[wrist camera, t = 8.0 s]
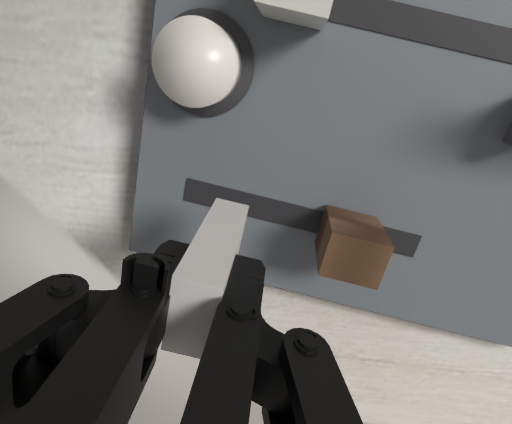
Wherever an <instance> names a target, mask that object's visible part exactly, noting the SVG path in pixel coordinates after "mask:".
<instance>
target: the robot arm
mask: <svg viewBox="0 0 512 424" xmlns="http://www.w3.org/2000/svg"><path fill="white" fill-rule="evenodd" d="M248 209H249V205H245V204H240V203H236V202H232V201H228V200H224V199H219V198H216V200H215V201H214V203H213V205H212V207H211V208H210V210H209V212H208V214H207V215H206V217H205V219H204V221H203V222H202V224H201V226H200V228H199V229H198V231H197V233H196V235H195V237H194V238H193V240H192V242H191V244H187V243H183V242H179V241H174V240H168V241H166V242H164V243H162V244H160V245H159V247H158V248H157V249H156V251H155V253H154V254H151V253H136V254H132V255H129V256H127V257H126V258H125V259H123V264H122V276H121V284H120V286H119V287H118V288H117V289H116V290H103V291H101V290H89V285H88V283H87V281H86V280H85V279H83V278H82V277H80V276H77V275H73V274H59V275H53V276H50V277H47V278H45V279H43V280H41V281H39V282H37V283H35V284H33V285H32V286H30V287H28V288H26V289H24V290H23V291H21V292H19V293H17V294H16V295H14V296H12V297H10V298H9V299H7V300H5V301H3V302H1V303H0V424H128V421H129V419H130V417H131V415H132V412H133V410H134V408H135V406H136V404H137V402H138V400H139V397H140V395H141V393H142V391H143V389H144V386H145V384H146V382H147V380H148V377H149V375H150V373H151V371H152V369H153V367H154V364H155V361H156V355H157V349H158V347H159V345H160V343H161V341H162V346H161V349H162V350H165V351H170V352H174V353H178V354H182V355H186V356H191V357H195V358H199V359H200V363H199V366H198V369H197V372H196V375H195V379H194V382H193V385H192V388H191V391H190V395H189V398H188V401H187V404H186V407H185V411H184V414H183V417H182V420H181V423H180V424H248V423H249V415H250V407H251V400H252V401H253V402H255V403H257V404H259V405H260V406H262V415H263V421H264V424H363V422H362V420H361V418H360V415H359V413H358V411H357V408H356V406H355V404H354V402H353V399H352V397H351V395H350V392H349V390H348V388H347V385H346V383H345V381H344V378H343V376H342V374H341V372H340V369H339V367H338V365H337V362H336V360H335V358H334V355H333V353H332V351H331V348H330V346H329V345H328V343H327V342H326V340H325V339H324V338H323V337H321V336H320V335H319V334H317V333H315V332H313V331H311V330H309V329H304V328H293V329H291V330H289V331H287V332H286V334H283V333H281V332H279V331H277V330H275V329H274V328H272V327H271V326H270V325H268V324H267V323H266V322H265V320H264V319H263V317H262V315H261V302H262V294H263V286H264V278H265V271H266V268H265V266H264V264H263V262H262V261H261V260H258V259H254V258H250V257H246V256H242V255H238V253H239V248H240V244H241V240H242V235H243V231H244V226H245V222H246V218H247V213H248Z"/></svg>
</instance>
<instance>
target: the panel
mask: <svg viewBox="0 0 512 424" xmlns="http://www.w3.org/2000/svg"><path fill="white" fill-rule="evenodd" d="M187 15H196V16H201V17H204V18H207V19H209V20H211V21H213V22H214V23H216V24H217V25H219V26H220V27H222V28H223V29H225V30H226V31H227V32H228V33H229V34H230V35H231V36H232V37H233V39H234V40H235V42H236V44H237V46H238V48H239V51H240V54H241V59H242V71H241V76H240V80H239V82H238V84H237V86H236V88H235V90H234V91H233V92H232V93H231V94H230V95H229V96H228V97H227V98H226V99H224V100H223V101H221V102H218V103H216V104H213V105H210V106H206V107H202V108H190V107H185V106H182V105H180V104H178V103H176V102H174V101H173V100H171V99H170V98H169V97H168V96H167V95H166V94H165V93H164V92H163V91H162V90H161V88H160V87H159V85H158V83H157V81H156V79H155V76H154V73H153V69H152V60H151V59H152V49H153V45H154V42H155V40H156V37H157V36H158V34H159V32H160V31H161V30H162V28H163V27H164V26H165V25H166V24H168V23H169V22H170V21H172V20H174V19H176V18H178V17H182V16H187ZM216 198H219V199H224V200H228V201H232V202H236V203H240V204H245V205H249V209H248V213H247V218H246V222H245V226H244V231H243V235H242V240H241V244H240V248H239V253H238V255H242V256H246V257H250V258H254V259H258V260H261V261H262V262H263V264H264V266H265V268H266V271H265V278H264V284H265V285H269V286H273V287H277V288H281V289H285V290H289V291H293V292H297V293H301V294H305V295H309V296H313V297H317V298H321V299H325V300H329V301H333V302H336V303H340V304H344V305H348V306H352V307H356V308H360V309H364V310H368V311H372V312H376V313H380V314H384V315H388V316H392V317H396V318H400V319H404V320H408V321H411V322H415V323H419V324H423V325H427V326H431V327H435V328H439V329H443V330H447V331H451V332H455V333H459V334H463V335H467V336H471V337H475V338H479V339H483V340H486V341H490V342H494V343H498V344H502V345H506V346H510V347H512V0H333V4H332V8H331V11H330V15H329V19H328V21H327V23H326V25H325V27H324V29H323V31H322V30H317V29H313V28H309V27H305V26H300V25H296V24H292V23H287V22H283V21H279V20H275V19H270V18H266V17H263V16H262V14H261V13H260V11H259V9H258V8H257V6H256V4H255V3H254V0H156V1H155V11H154V20H153V30H152V39H151V49H150V58H149V68H148V77H147V86H146V96H145V105H144V115H143V124H142V134H141V143H140V153H139V162H138V172H137V181H136V191H135V200H134V210H133V219H132V229H131V238H130V247H129V250H131V251H135V252H139V253H151V254H154V253H155V251H156V249H157V248H158V247H159V245H160V244H162V243H164V242H166V241H168V240H174V241H179V242H183V243H187V244H191V242H192V240H193V238H194V237H195V235H196V233H197V231H198V229H199V228H200V226H201V224H202V222H203V221H204V219H205V217H206V215H207V214H208V212H209V210H210V208H211V207H212V205H213V203H214V201H215V200H216ZM326 205H330V206H334V207H338V208H342V209H346V210H350V211H354V212H358V213H362V214H367V215H371V216H375V217H378V219H379V221H380V223H381V224H382V226H383V228H384V230H385V231H386V233H387V235H388V237H389V239H390V240H391V242H392V244H393V246H394V250H393V253H392V255H391V258H390V260H389V263H388V265H387V268H386V270H385V273H384V275H383V278H382V280H381V282H380V285H379V287H378V290H375V289H371V288H367V287H363V286H359V285H355V284H351V283H347V282H343V281H339V280H335V279H331V278H327V277H323V276H319V275H318V270H317V259H316V249H315V239H316V236H317V233H318V229H319V226H320V223H321V220H322V217H323V213H324V210H325V207H326Z"/></svg>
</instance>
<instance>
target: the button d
mask: <svg viewBox="0 0 512 424" xmlns="http://www.w3.org/2000/svg"><path fill="white" fill-rule="evenodd" d="M151 60H152V69H153V73H154V76H155V79H156V81H157V83H158V85H159V87H160V88H161V90H162V91H163V92H164V93H165V94H166V95H167V96H168V97H169V98H170V99H171V100H173V101H174V102H176V103H178V104H180V105H182V106H185V107H190V108H202V107H206V106H210V105H213V104H216V103H218V102H221V101H223V100H224V99H226V98H227V97H228V96H229V95H230V94H231V93H232V92H233V91H234V90H235V88H236V86H237V84H238V82H239V80H240V76H241V71H242V59H241V54H240V51H239V48H238V46H237V44H236V42H235V40H234V39H233V37H232V36H231V35H230V34H229V33H228V32H227V31H226V30H225V29H223V28H222V27H220V26H219V25H217V24H216V23H214V22H213V21H211V20H209V19H207V18H204V17H201V16H196V15H187V16H182V17H178V18H176V19H174V20H172V21H170V22H169V23H168V24H166V25H165V26H164V27H163V28H162V30H161V31H160V32H159V34H158V36H157V37H156V40H155V42H154V45H153V49H152V59H151Z"/></svg>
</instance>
